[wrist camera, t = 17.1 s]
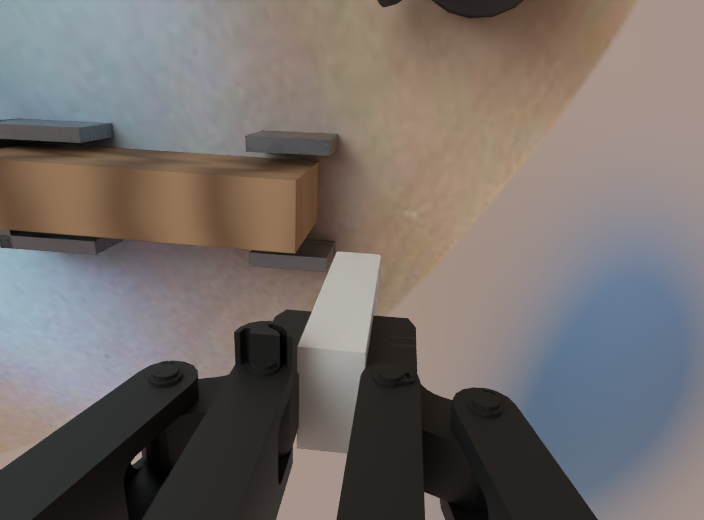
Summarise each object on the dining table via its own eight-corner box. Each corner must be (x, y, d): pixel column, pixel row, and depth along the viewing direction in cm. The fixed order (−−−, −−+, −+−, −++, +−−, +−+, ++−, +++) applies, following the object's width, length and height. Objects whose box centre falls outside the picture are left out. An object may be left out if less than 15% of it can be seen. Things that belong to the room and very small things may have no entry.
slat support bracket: (38, 232, 41) (0, 247, 37) (17, 118, 38) (-26, 122, 34) (125, 238, 40) (96, 254, 37) (111, 123, 38) (78, 127, 34)
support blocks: (265, 248, 39) (249, 266, 36) (262, 130, 36) (245, 135, 33) (334, 253, 39) (326, 271, 35) (337, 134, 36) (329, 140, 32)
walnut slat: (47, 199, 40) (-36, 226, 33) (38, 142, 39) (-52, 156, 31) (317, 220, 38) (295, 253, 31) (319, 161, 37) (295, 180, 29)
